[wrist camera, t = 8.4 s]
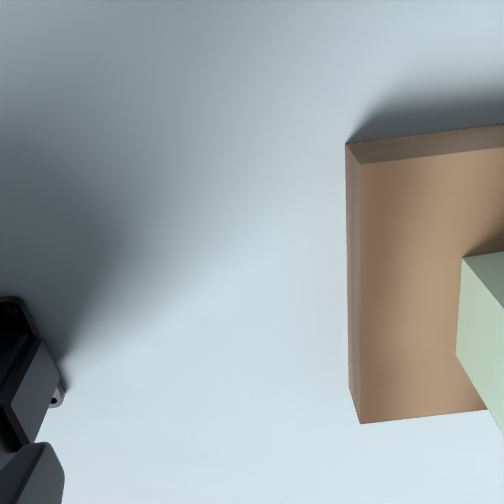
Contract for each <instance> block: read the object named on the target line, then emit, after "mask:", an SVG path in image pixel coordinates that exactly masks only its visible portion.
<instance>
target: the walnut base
mask: <svg viewBox="0 0 504 504" xmlns="http://www.w3.org/2000/svg"><path fill="white" fill-rule="evenodd" d="M345 170H346V235H347V300H348V366H349V389H350V392H351V396H352V399H353V402H354V406H355V409H356V412H357V416H358V419H359V422H360V424H367V423H375V422H384V421H392V420H401V419H410V418H418V417H427V416H436V415H444V414H453V413H462V412H470V411H479V410H488V408H487V407H486V405H485V403H484V402H483V400H482V398H481V397H480V395H479V393H478V392H477V390H476V388H475V387H474V385H473V383H472V382H471V380H470V378H469V377H468V375H467V373H466V372H465V370H464V368H463V367H462V365H461V363H460V361H459V360H458V358H457V356H456V355H455V354H456V339H457V324H458V310H459V295H460V281H461V266H462V258H465V257H471V256H477V255H484V254H490V253H496V252H502V251H504V124H497V125H489V126H481V127H473V128H465V129H457V130H449V131H441V132H433V133H425V134H417V135H409V136H401V137H393V138H385V139H377V140H369V141H361V142H353V143H345Z"/></svg>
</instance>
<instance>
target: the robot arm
mask: <svg viewBox="0 0 504 504" xmlns="http://www.w3.org/2000/svg"><path fill="white" fill-rule="evenodd" d="M9 306H12V307H14V308H16V310H13V309H11V308H10V307H9ZM59 380H60V376H59V374H58V371H57V369H56V367H55V364H54V362H53V360H52V357H51V355H50V353H49V350H48V348H47V346H46V343H45V341H44V339H42V338H41V337H40V336H39V334H38V331H37V329H36V327H35V324H34V322H33V320H32V318H31V315H30V313H29V311H28V308H27V306H26V304H25V302H24V301H23V300H22V299H20V298H19V297H16V296H6V297H0V504H61V502H62V495H63V489H64V481H65V477H64V471H63V468H62V466H61V464H60V462H59V460H58V458H57V456H56V454H55V451H54V449H53V447H52V446H51V444H49V443H48V442H40V443H34V441H35V439H36V437H37V434H38V432H39V429H40V427H41V424H42V422H43V419H44V417H45V414H46V412H47V410H48V408H55V407H59V406H60V405H61V404H62V402H63V399H64V397H65V394H64V391H63V389H62V386H61V384H60V382H59ZM53 397H55V398H53Z"/></svg>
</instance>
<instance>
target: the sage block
mask: <svg viewBox="0 0 504 504" xmlns="http://www.w3.org/2000/svg"><path fill="white" fill-rule="evenodd" d="M455 355H456V356H457V358H458V360H459V361H460V363H461V365H462V367H463V368H464V370H465V372H466V373H467V375H468V377H469V378H470V380H471V382H472V383H473V385H474V387H475V388H476V390H477V392H478V393H479V395H480V397H481V398H482V400H483V402H484V403H485V405H486V407H487V408H488V410H489V412H490V413H491V415H492V417H493V419H494V420H495V422H496V424H497V425H498V427H499V429H500V430H501V432H502V434H503V435H504V251H502V252H496V253H490V254H484V255H477V256H471V257H465V258H462V266H461V281H460V295H459V310H458V324H457V339H456V354H455Z"/></svg>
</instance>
